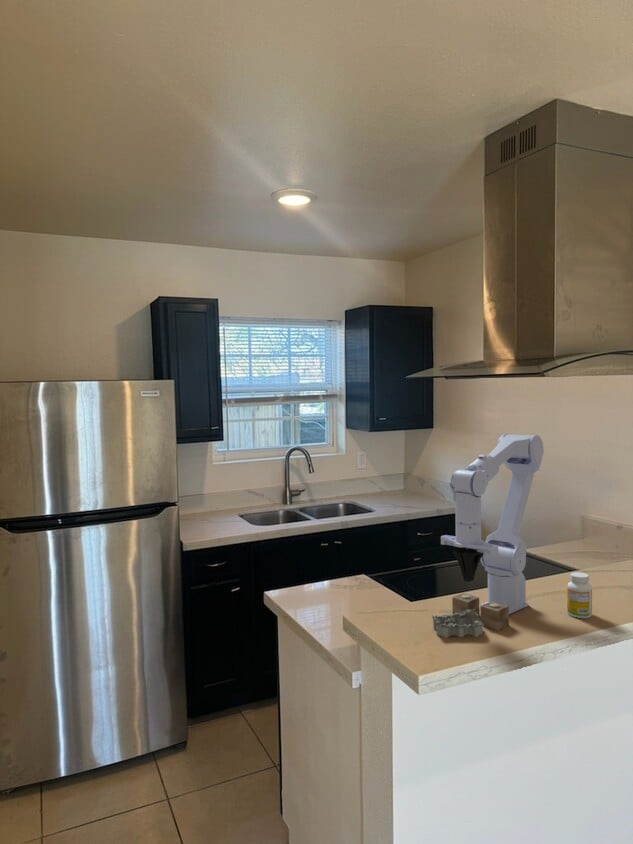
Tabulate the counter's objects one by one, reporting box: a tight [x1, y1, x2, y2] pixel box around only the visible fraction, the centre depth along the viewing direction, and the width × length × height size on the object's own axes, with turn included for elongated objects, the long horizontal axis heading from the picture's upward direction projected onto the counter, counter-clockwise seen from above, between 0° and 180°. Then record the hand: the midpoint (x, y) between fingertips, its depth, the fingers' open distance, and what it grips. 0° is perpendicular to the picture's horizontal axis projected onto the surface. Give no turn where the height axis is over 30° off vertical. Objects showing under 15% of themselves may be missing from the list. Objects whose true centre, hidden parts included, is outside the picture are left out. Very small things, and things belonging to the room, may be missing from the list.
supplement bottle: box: [566, 571, 593, 619], centre depth 140 cm, size 5×5×10 cm
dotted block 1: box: [451, 592, 481, 617], centre depth 142 cm, size 4×4×5 cm
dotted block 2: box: [479, 601, 510, 631], centre depth 136 cm, size 4×4×5 cm
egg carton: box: [431, 609, 485, 638], centre depth 133 cm, size 11×8×4 cm
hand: (468, 580), depth 136 cm, fingers closed
